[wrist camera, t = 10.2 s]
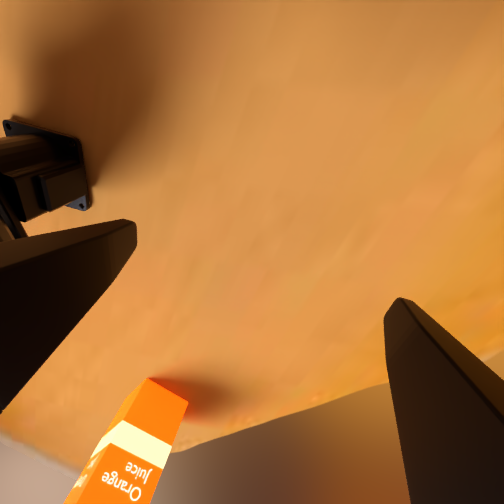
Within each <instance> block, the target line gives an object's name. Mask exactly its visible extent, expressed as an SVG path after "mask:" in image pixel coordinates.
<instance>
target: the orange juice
mask: <svg viewBox="0 0 504 504" xmlns="http://www.w3.org/2000/svg"><path fill="white" fill-rule="evenodd" d="M188 403H189V402H187V401H186V400H184V399H182V398H180V397H179V396H177V395H175V394H174V393H172V392H170V391H168V390H167V389H165V388H163V387H161V386H160V385H158V384H156V383H154V382H153V381H151V380H149V379H148V378H146V379H145V380H144V381H143V382H142V383H141V384H140V385H139V386H138V387H137V388H136V389H135V390H134V391H133V392H132V393H131V394H130V395H129V396H128V397H127V398H126V399H125V401H124V403H123V404H122V406H121V408H120V409H119V411H118V413H117V414H116V416H115V418H114V419H113V421H112V423H111V424H110V426H109V428H108V429H107V431H106V433H105V435H104V436H103V438H102V439H101V441H100V442H99V444H98V446H97V447H96V449H95V451H94V453H93V454H92V456H91V458H90V460H89V462H88V463H87V465H86V467H85V468H84V470H83V472H82V473H81V475H80V477H79V478H78V480H77V482H76V484H75V485H74V487H73V489H72V490H71V492H70V494H69V495H68V497H67V499H66V500H65V502H64V504H149V503H150V501H151V498H152V496H153V493H154V491H155V488H156V485H157V483H158V480H159V478H160V475H161V472H162V470H163V468H164V466H165V463H166V461H167V458H168V455H169V453H170V450H171V448H172V444H173V441H174V439H175V436H176V434H177V431H178V428H179V426H180V423H181V421H182V418H183V415H184V413H185V410H186V408H187V405H188Z"/></svg>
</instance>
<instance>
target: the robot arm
mask: <svg viewBox="0 0 504 504" xmlns="http://www.w3.org/2000/svg"><path fill="white" fill-rule="evenodd" d="M10 125H11V126H10ZM3 127H4V131H5V134H6V137H1V138H0V414H1V413H2V410H4V409H5V408H6V407H7V406H8V404H9V403H10V402H11V401H12V400H13V399H14V397H15V396H16V395H17V394H18V393H19V392H20V390H21V389H22V388H23V387H24V386H25V385H26V383H27V382H28V381H29V380H30V379H31V378H32V376H33V375H34V374H35V373H36V372H37V371H38V369H39V368H40V367H41V366H42V365H43V364H44V362H45V361H46V360H47V359H48V358H49V357H50V355H51V354H52V353H53V352H54V351H55V349H56V348H57V347H58V346H59V345H60V344H61V342H62V341H63V340H64V339H65V338H66V337H67V335H68V334H69V333H70V332H71V331H72V330H73V328H74V327H75V326H76V325H77V324H78V323H79V321H80V320H81V319H82V318H83V317H84V316H85V314H86V313H87V312H88V311H89V310H90V309H91V307H92V306H93V305H94V304H95V303H96V302H97V300H98V299H99V298H100V297H101V296H102V295H103V293H104V292H105V291H106V290H107V289H108V287H109V286H110V285H111V284H112V283H113V281H114V280H115V278H116V277H117V276H118V274H119V273H120V271H121V270H122V268H123V267H124V265H125V264H126V262H127V261H128V259H129V258H130V256H131V255H132V253H133V252H134V250H135V249H136V246H137V226H136V223H135V222H133V221H130V220H126V219H119V220H114V221H109V222H103V223H98V224H93V225H88V226H82V227H77V228H72V229H67V230H62V231H56V232H51V233H46V234H41V235H35V236H30V237H28V235H27V233H26V231H25V230H24V228H23V226H22V224H21V222H20V221H22V222H27V221H29V220H31V219H34V218H36V217H38V216H40V215H42V214H44V213H46V212H52V211H54V210H56V209H58V208H60V207H62V206H67V207H71V208H74V209H78V210H81V211H86V210H88V209H89V208H90V204H89V197H88V190H87V183H86V176H85V169H84V162H83V154H82V147H81V143H80V141H79V139H78V138H76V137H74V136H70V135H67V134H63V133H59V132H56V131H52V130H48V129H45V128H41V127H37V126H34V125H30V124H26V123H23V122H19V121H15V120H12V119H8V120H4V121H3ZM72 141H73V142H74V144H75V146H74V145H73V143H72ZM82 204H83V205H84V206H83V205H82ZM384 338H385V355H386V365H387V371H388V377H389V383H390V388H391V394H392V400H393V405H394V411H395V416H396V422H397V428H398V433H399V439H400V445H401V451H402V456H403V462H404V468H405V473H406V479H407V485H408V490H409V495H410V501H411V504H504V380H502V379H501V378H500V377H499V376H498V375H497V374H496V373H494V372H493V371H492V370H491V369H490V368H489V367H488V366H486V365H485V364H484V363H483V362H482V361H481V360H480V359H478V358H477V357H476V356H475V355H474V354H473V353H472V352H470V351H469V350H468V349H467V348H466V347H465V346H463V345H462V344H461V343H460V342H459V341H458V340H457V339H455V338H454V337H453V336H452V335H451V334H450V333H449V332H447V331H446V330H445V329H444V328H443V327H442V326H441V325H439V324H438V323H437V322H436V321H435V320H434V319H433V318H431V317H430V316H429V315H428V314H427V313H426V312H425V311H423V310H422V309H421V308H420V307H419V306H418V305H416V304H415V303H414V302H413V301H411V300H408V299H405V298H401V297H400V298H397V299H396V300H395V301H394V302H393V304H392V305H391V307H390V308H389V310H388V311H387V312H386V314H385V316H384Z"/></svg>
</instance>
